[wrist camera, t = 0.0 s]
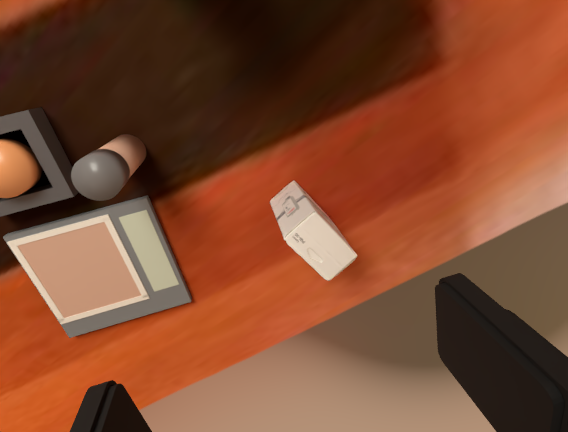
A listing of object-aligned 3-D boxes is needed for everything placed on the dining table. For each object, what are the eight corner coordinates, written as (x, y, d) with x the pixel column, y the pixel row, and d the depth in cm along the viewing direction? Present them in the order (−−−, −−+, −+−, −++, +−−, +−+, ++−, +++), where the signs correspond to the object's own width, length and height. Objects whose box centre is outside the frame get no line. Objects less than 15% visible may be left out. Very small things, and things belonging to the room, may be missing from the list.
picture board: (7, 233, 43) (1, 237, 42) (148, 195, 44) (146, 198, 43) (72, 333, 50) (68, 338, 49) (191, 297, 51) (191, 302, 50)
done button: (-32, 146, 37) (-49, 151, 34) (24, 132, 37) (11, 136, 35) (-1, 196, 39) (-14, 204, 37) (51, 182, 40) (41, 189, 37)
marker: (104, 138, 41) (62, 163, 30) (139, 129, 41) (110, 150, 30) (119, 171, 42) (84, 205, 31) (152, 162, 43) (129, 193, 32)
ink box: (331, 218, 50) (361, 258, 39) (306, 239, 51) (329, 284, 40) (293, 177, 47) (315, 209, 36) (267, 201, 47) (281, 239, 37)
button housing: (-50, 130, 37) (-71, 134, 35) (41, 107, 38) (27, 110, 35) (1, 210, 42) (-14, 220, 39) (83, 188, 42) (73, 196, 40)
